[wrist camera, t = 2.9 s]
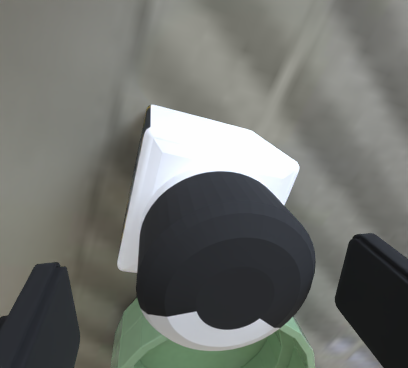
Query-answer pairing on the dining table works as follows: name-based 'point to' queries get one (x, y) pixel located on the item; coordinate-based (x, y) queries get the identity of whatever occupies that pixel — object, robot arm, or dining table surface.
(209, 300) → the medicine bottle
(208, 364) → the bowl
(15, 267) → the dining table surface
